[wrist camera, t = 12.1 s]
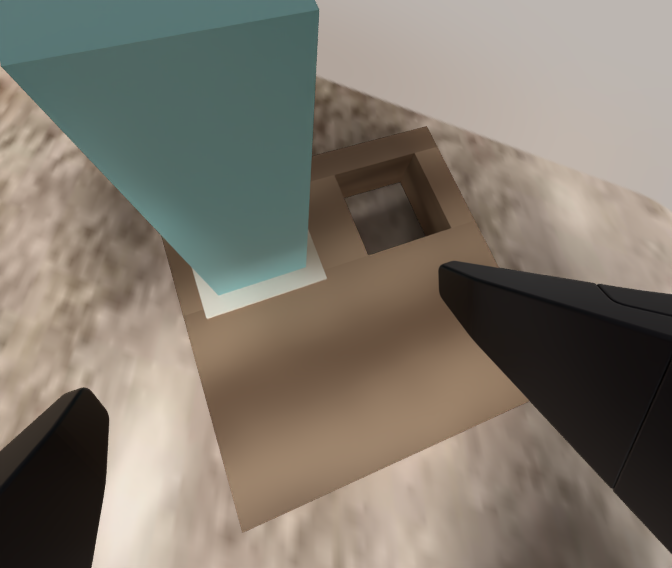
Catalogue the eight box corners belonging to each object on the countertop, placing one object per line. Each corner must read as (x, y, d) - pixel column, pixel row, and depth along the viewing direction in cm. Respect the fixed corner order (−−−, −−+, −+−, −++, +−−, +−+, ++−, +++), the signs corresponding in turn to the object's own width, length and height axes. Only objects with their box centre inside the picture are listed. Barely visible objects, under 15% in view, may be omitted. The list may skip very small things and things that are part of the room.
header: (522, 386, 20) (562, 386, 17) (252, 507, 17) (241, 535, 14) (411, 157, 23) (427, 123, 20) (171, 223, 20) (149, 195, 17)
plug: (305, 267, 17) (319, 9, 5) (218, 295, 16) (0, 65, 4) (278, 192, 18) (236, -167, 6) (194, 215, 17) (-38, -147, 5)
